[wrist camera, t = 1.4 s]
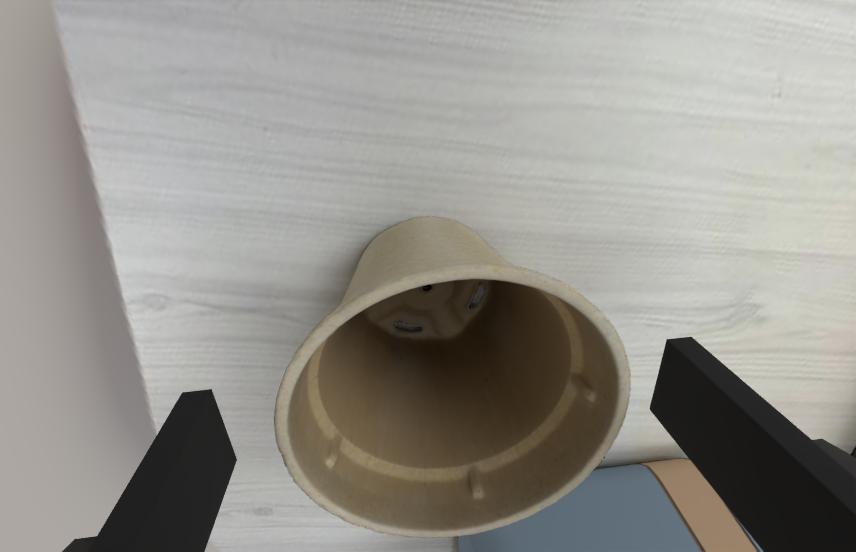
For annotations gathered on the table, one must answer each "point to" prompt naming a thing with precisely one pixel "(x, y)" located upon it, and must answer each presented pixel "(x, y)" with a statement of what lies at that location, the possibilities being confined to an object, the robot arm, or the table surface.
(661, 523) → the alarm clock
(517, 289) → the flower pot
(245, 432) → the table surface
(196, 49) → the table surface
